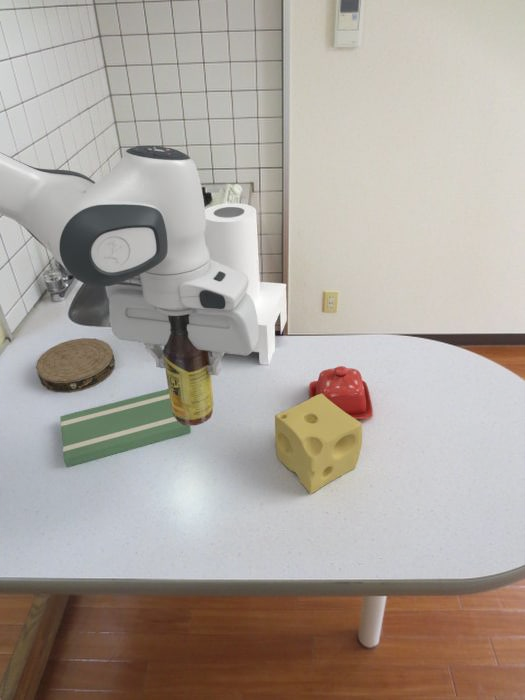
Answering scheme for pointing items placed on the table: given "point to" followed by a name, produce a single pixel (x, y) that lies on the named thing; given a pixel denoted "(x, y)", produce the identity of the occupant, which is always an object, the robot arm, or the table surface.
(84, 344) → the wooden log slice
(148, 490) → the table surface
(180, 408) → the sauce bottle
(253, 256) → the paper towel holder
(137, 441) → the towel
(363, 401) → the butter dish
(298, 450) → the cheese
